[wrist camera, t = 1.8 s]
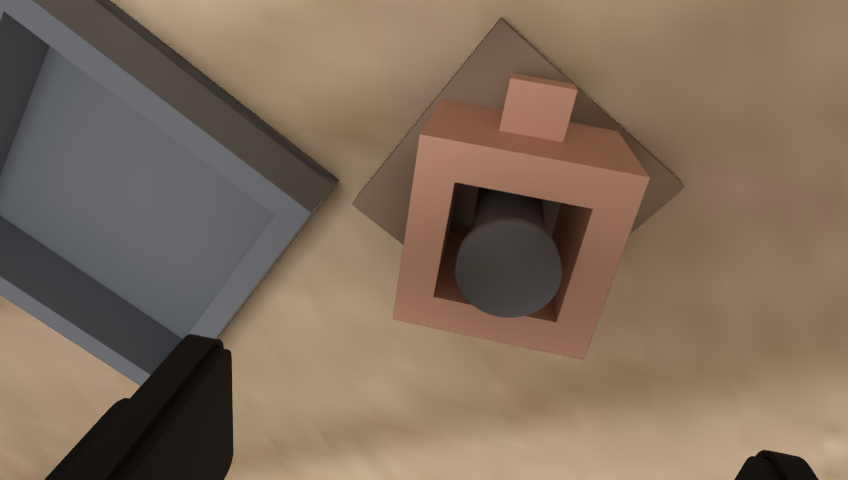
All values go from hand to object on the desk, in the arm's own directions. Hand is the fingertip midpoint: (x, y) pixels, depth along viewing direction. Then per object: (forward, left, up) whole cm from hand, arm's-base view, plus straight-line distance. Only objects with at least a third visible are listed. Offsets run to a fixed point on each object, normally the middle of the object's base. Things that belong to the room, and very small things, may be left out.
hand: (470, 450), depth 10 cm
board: (0, -1, -13) cm, 13 cm away
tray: (+12, +10, -13) cm, 21 cm away
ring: (0, -1, -12) cm, 12 cm away
